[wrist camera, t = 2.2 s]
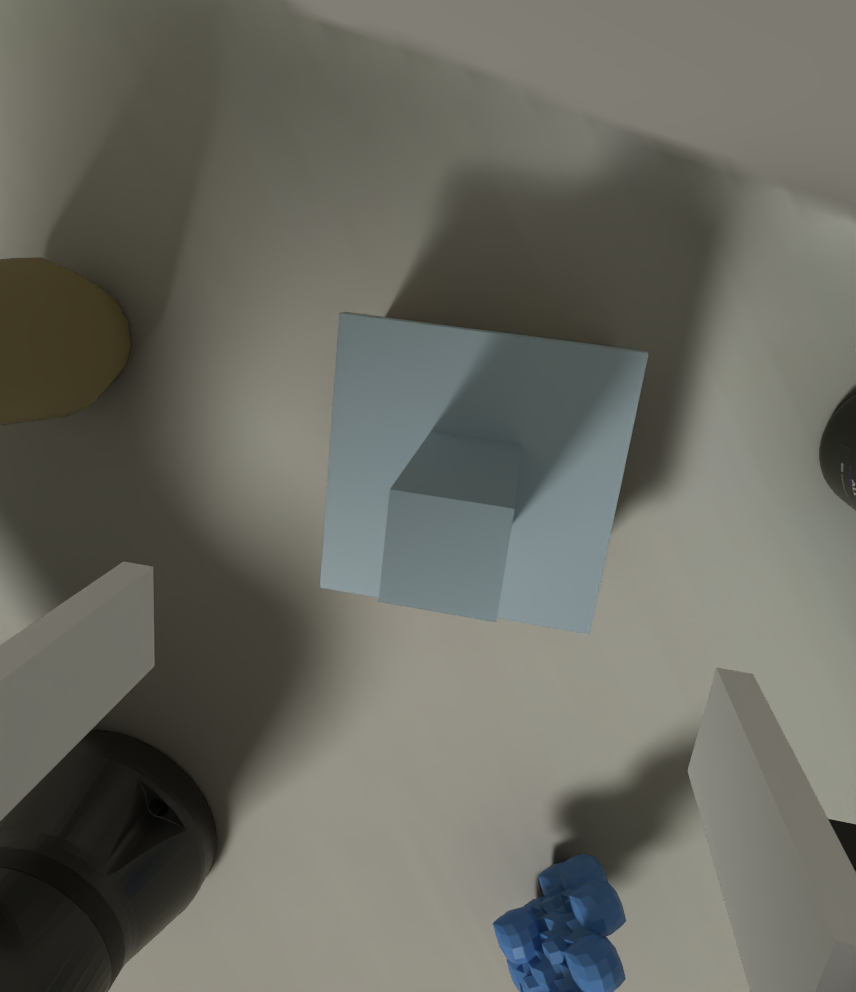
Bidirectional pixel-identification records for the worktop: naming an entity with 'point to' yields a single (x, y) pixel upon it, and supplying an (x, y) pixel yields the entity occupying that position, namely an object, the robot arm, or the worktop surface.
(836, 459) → the supplement bottle
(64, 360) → the squeeze bottle
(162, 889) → the robot arm
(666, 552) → the worktop surface
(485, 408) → the lid
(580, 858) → the grapes
